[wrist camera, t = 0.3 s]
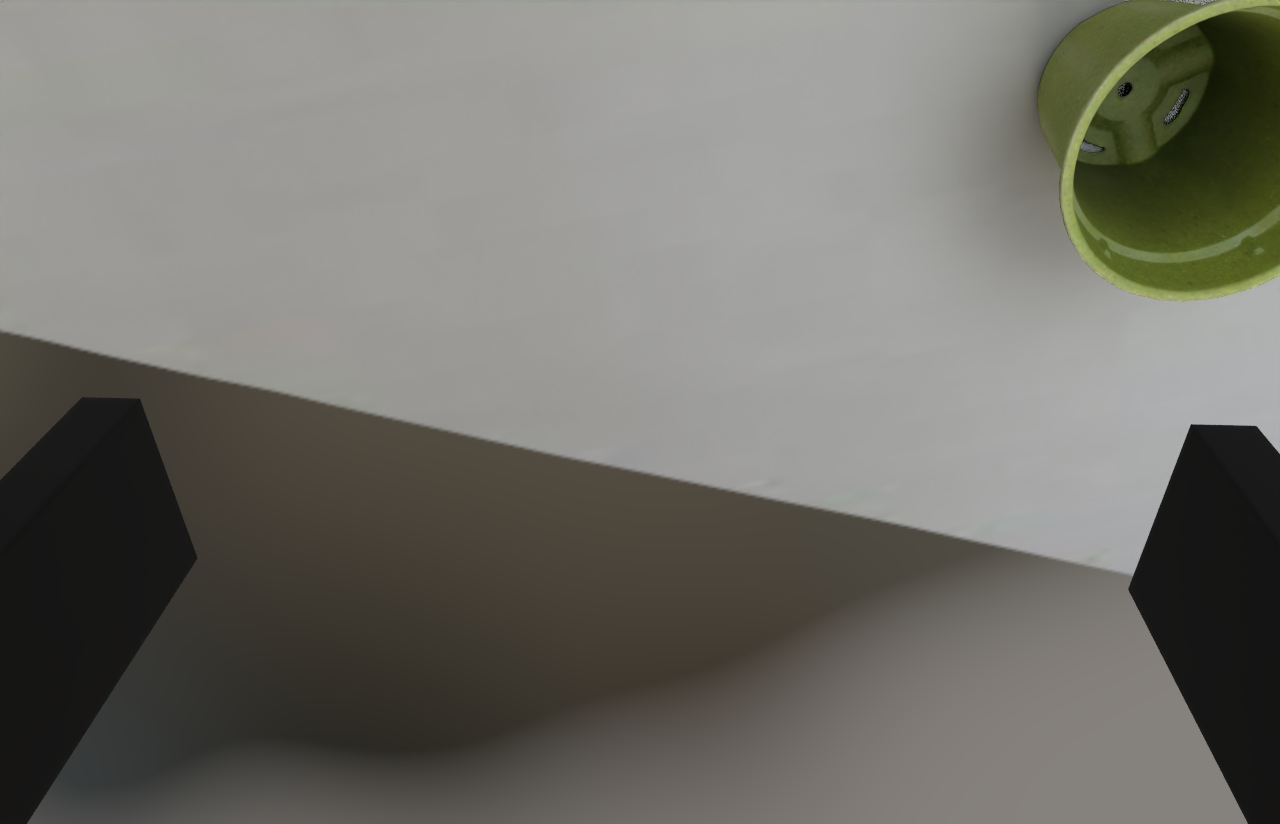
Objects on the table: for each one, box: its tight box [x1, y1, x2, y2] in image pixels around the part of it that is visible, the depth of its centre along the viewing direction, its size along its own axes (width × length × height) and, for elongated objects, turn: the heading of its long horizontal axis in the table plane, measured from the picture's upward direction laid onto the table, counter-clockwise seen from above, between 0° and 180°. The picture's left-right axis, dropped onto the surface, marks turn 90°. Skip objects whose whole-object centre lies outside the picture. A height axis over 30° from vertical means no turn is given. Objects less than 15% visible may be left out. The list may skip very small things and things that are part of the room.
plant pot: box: [1037, 0, 1280, 301], centre depth 32 cm, size 9×9×9 cm
